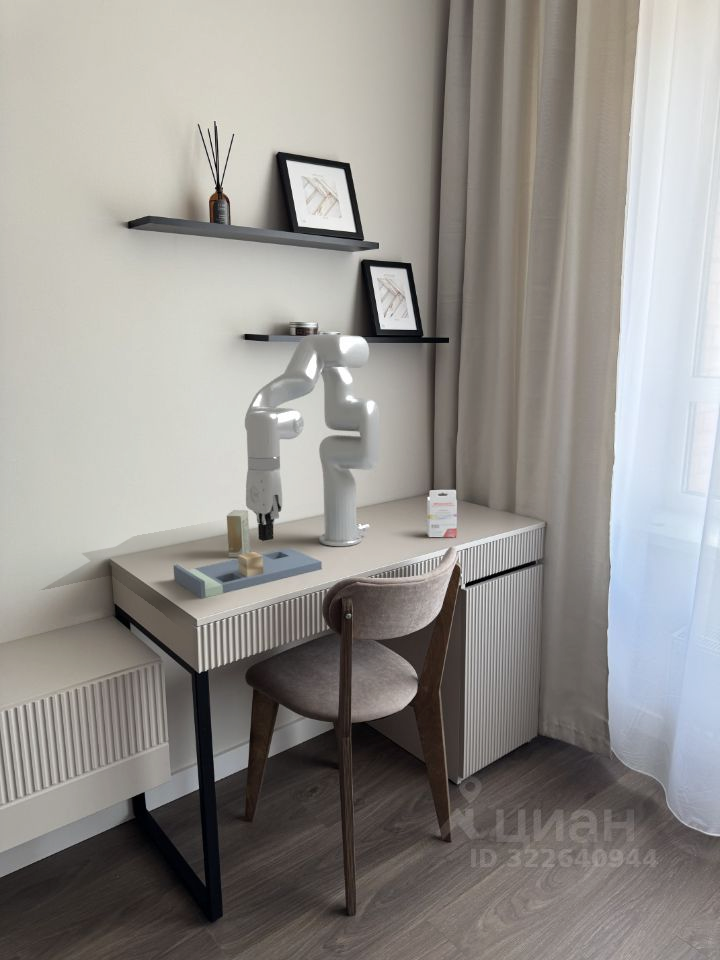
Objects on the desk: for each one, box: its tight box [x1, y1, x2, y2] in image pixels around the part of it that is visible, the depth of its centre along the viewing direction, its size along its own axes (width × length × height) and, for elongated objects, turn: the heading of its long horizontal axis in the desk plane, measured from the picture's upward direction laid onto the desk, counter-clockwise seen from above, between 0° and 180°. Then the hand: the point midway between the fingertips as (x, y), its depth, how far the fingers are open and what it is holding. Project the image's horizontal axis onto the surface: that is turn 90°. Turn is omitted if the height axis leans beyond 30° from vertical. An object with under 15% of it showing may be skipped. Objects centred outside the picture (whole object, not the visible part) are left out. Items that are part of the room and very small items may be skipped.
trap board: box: [173, 547, 323, 599], centre depth 183 cm, size 34×16×4 cm, turn 127°
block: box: [237, 551, 263, 577], centre depth 178 cm, size 4×4×4 cm
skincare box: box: [226, 509, 251, 559], centre depth 199 cm, size 6×4×12 cm
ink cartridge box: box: [426, 489, 458, 538], centre depth 215 cm, size 9×5×15 cm, turn 91°
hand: (266, 539), depth 171 cm, fingers closed
